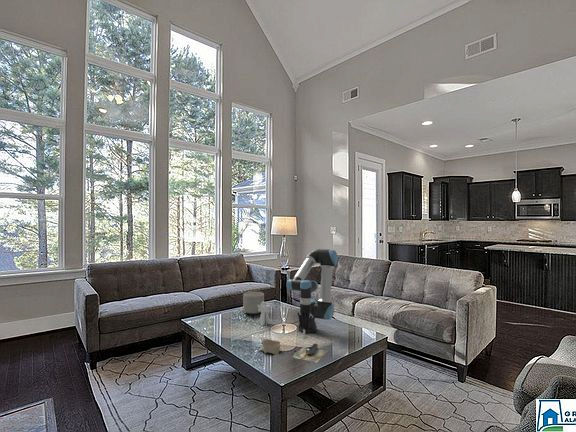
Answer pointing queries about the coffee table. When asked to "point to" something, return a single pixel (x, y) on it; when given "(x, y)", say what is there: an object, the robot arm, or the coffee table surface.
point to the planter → (252, 302)
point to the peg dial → (311, 350)
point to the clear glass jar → (264, 313)
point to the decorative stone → (270, 346)
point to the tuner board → (313, 358)
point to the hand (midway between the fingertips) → (305, 338)
